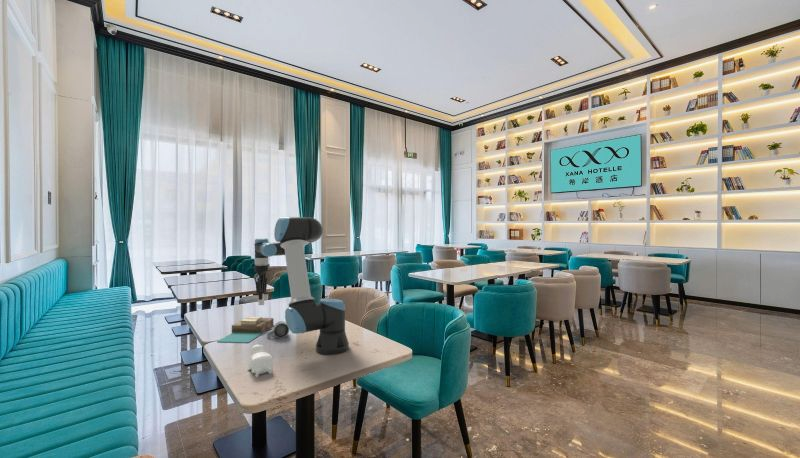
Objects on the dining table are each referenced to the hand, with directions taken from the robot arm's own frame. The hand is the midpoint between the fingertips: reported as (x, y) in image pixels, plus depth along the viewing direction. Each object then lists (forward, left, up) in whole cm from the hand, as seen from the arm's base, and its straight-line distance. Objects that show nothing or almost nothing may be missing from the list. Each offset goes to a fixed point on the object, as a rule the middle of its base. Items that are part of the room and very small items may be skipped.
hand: (261, 304), depth 204 cm
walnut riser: (-10, 0, -11) cm, 15 cm away
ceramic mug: (-23, -20, -11) cm, 32 cm away
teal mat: (-26, -1, -11) cm, 28 cm away
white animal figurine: (-64, -29, -11) cm, 71 cm away
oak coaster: (-12, 0, -7) cm, 14 cm away
